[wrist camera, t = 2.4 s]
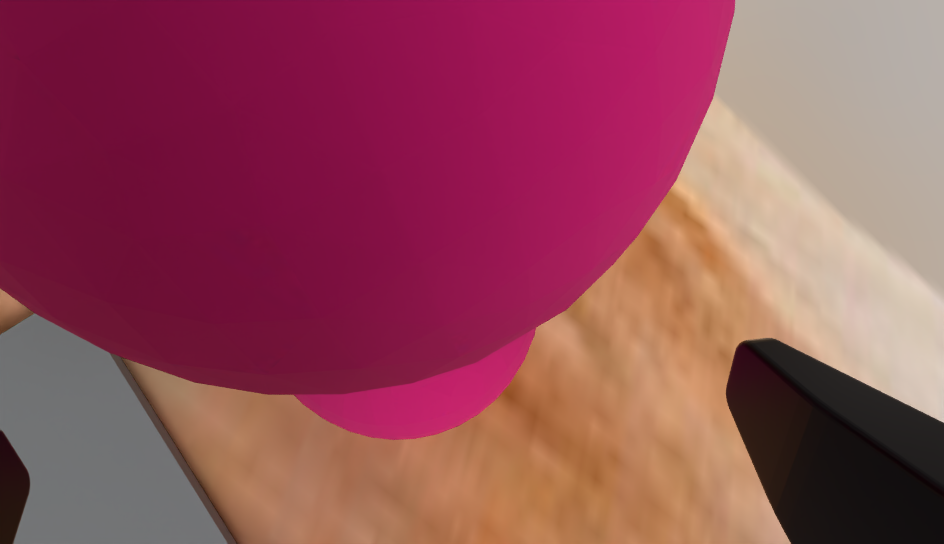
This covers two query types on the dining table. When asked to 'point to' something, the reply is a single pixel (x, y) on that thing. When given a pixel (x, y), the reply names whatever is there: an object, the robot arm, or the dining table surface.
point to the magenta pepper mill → (338, 182)
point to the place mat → (94, 448)
